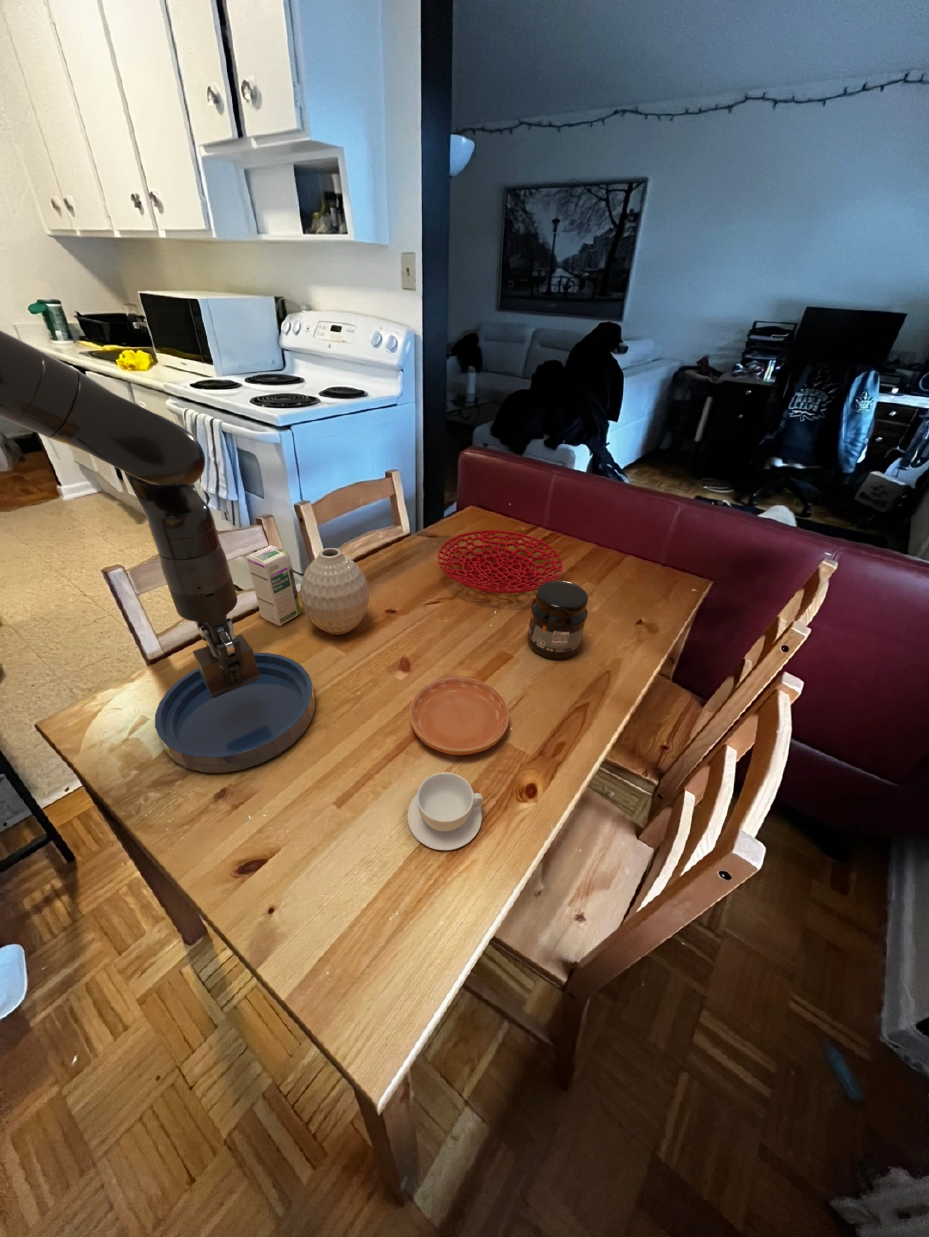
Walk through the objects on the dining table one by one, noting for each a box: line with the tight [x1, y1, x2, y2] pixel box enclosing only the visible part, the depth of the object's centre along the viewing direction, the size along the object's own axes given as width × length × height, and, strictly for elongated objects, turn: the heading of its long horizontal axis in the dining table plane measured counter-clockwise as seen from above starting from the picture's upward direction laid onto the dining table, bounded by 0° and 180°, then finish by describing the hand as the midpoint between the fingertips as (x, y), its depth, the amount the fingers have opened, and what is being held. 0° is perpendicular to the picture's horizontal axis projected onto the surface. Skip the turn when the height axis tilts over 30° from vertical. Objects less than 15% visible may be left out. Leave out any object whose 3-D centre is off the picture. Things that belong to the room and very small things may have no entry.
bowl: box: [437, 529, 564, 594], centre depth 118 cm, size 30×29×5 cm
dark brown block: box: [192, 633, 260, 698], centre depth 74 cm, size 7×4×6 cm, turn 129°
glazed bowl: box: [154, 651, 316, 773], centre depth 79 cm, size 23×23×4 cm
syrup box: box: [245, 544, 302, 627], centre depth 98 cm, size 6×6×14 cm
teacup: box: [407, 771, 484, 851], centre depth 66 cm, size 10×10×5 cm
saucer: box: [408, 676, 510, 756], centre depth 80 cm, size 16×16×3 cm
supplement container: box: [526, 580, 589, 660], centre depth 95 cm, size 10×10×12 cm
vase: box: [299, 547, 370, 636], centre depth 96 cm, size 13×13×17 cm
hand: (229, 674), depth 75 cm, fingers closed on dark brown block, 4 cm apart
